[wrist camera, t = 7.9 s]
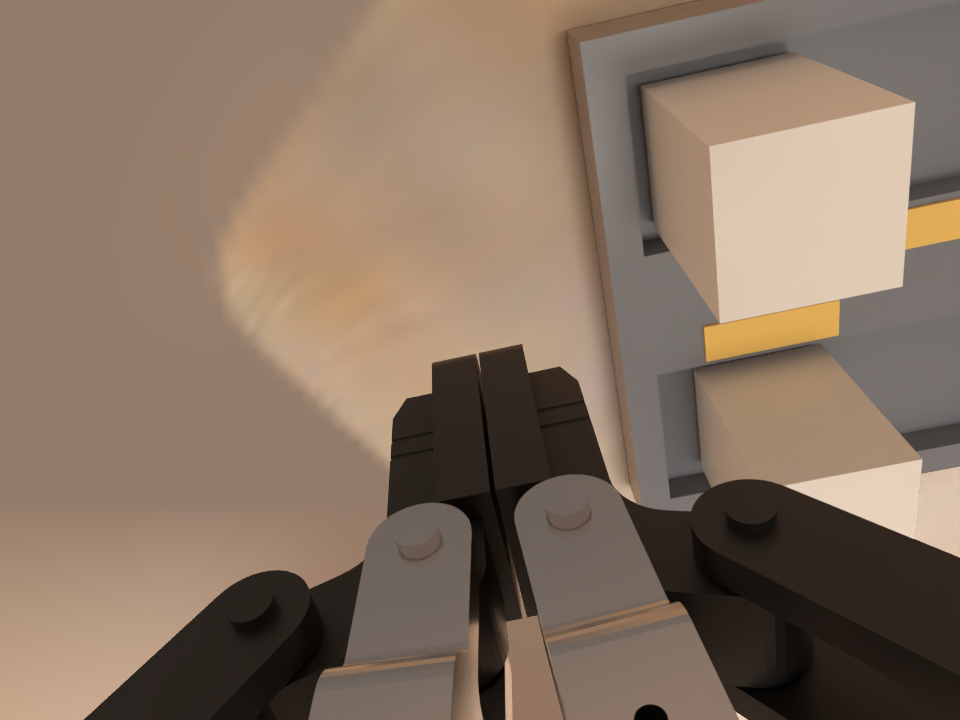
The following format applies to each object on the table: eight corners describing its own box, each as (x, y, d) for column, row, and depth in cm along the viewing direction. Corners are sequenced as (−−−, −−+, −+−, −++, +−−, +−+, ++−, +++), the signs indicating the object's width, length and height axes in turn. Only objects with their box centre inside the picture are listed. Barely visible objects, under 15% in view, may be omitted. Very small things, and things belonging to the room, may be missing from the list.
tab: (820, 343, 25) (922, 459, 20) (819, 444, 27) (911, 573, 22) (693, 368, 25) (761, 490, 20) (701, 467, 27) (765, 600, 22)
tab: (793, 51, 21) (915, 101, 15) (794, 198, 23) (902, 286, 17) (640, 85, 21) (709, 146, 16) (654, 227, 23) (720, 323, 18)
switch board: (1058, -82, 21) (1126, -80, 19) (987, 416, 29) (1029, 455, 27) (566, 30, 21) (580, 43, 19) (630, 485, 29) (644, 528, 27)
